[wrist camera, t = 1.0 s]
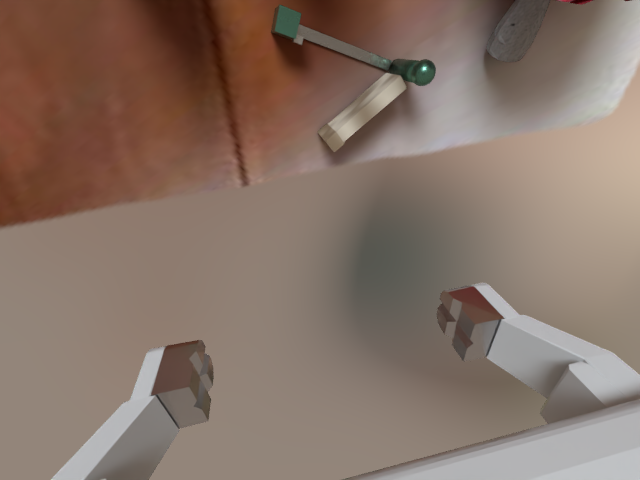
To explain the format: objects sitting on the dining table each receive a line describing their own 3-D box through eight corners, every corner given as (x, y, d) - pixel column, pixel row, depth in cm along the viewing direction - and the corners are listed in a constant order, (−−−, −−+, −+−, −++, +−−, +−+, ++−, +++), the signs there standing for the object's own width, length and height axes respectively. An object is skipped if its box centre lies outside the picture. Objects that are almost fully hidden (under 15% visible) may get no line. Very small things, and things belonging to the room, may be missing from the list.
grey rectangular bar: (386, 70, 41) (403, 74, 37) (392, 83, 42) (409, 87, 38) (317, 131, 43) (325, 141, 39) (325, 142, 44) (334, 152, 40)
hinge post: (384, 76, 42) (414, 83, 35) (392, 54, 40) (425, 56, 33) (401, 82, 43) (433, 90, 36) (409, 61, 41) (444, 64, 34)
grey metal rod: (292, 34, 37) (293, 34, 36) (295, 23, 36) (295, 22, 36) (387, 70, 41) (388, 70, 41) (390, 60, 41) (391, 60, 40)
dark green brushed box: (270, 35, 36) (274, 34, 33) (275, 8, 35) (279, 4, 31) (296, 44, 37) (302, 44, 34) (301, 19, 36) (309, 16, 32)
